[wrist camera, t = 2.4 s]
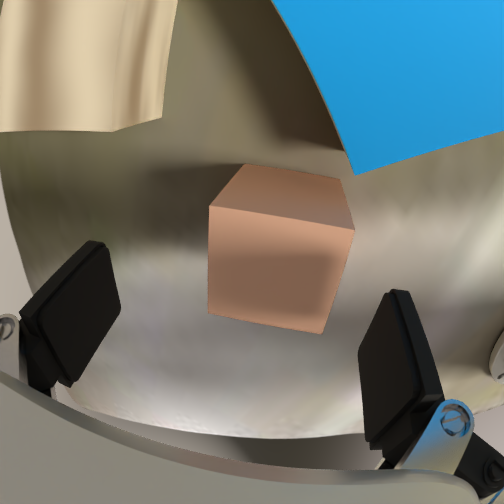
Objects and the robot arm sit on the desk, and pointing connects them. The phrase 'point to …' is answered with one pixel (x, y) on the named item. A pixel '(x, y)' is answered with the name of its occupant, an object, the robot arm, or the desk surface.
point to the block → (277, 247)
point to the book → (403, 72)
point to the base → (83, 63)
